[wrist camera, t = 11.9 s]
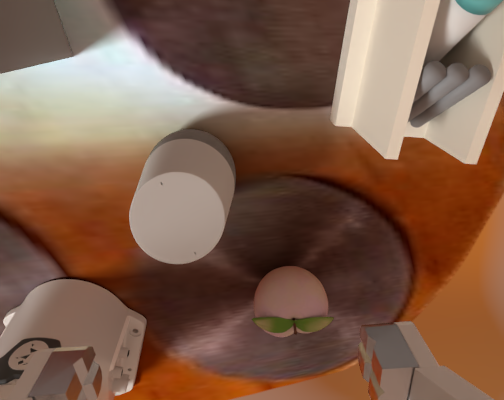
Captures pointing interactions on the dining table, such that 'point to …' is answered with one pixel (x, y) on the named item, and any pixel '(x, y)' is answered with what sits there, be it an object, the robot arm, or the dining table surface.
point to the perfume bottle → (30, 34)
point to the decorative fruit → (290, 302)
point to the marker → (455, 24)
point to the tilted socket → (417, 79)
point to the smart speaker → (183, 197)
